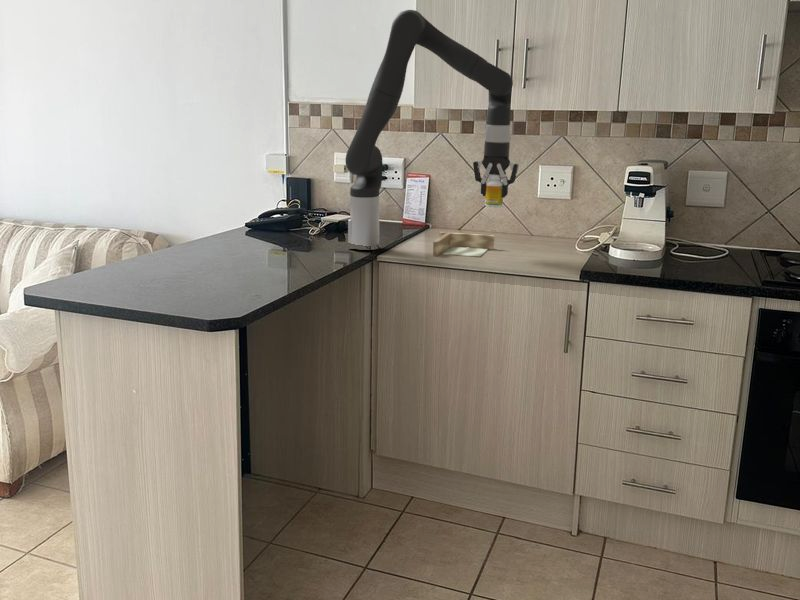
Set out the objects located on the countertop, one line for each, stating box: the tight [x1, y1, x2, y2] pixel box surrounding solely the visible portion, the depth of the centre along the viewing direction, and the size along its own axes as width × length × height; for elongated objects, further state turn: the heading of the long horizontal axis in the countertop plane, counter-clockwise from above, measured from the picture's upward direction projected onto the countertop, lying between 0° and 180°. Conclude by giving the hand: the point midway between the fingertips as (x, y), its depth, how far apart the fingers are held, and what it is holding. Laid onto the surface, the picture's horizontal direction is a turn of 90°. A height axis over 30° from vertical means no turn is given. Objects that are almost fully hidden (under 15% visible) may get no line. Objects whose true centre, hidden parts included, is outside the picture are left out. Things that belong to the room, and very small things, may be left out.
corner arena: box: [432, 231, 495, 258], centre depth 253 cm, size 18×17×4 cm
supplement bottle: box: [484, 174, 504, 208], centre depth 242 cm, size 5×5×10 cm
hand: (494, 196), depth 243 cm, fingers closed on supplement bottle, 5 cm apart
